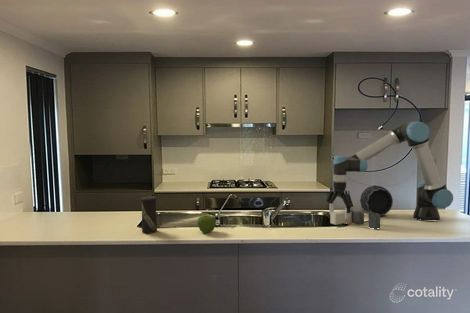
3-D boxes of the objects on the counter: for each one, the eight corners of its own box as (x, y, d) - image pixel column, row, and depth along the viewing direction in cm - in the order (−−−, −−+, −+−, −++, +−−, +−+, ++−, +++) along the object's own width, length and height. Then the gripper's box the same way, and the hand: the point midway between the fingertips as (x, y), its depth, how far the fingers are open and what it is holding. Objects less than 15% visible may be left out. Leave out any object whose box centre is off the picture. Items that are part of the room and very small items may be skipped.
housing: (357, 222, 225) (358, 208, 224) (380, 229, 210) (380, 214, 209) (353, 223, 223) (353, 209, 222) (375, 230, 208) (375, 214, 208)
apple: (211, 236, 198) (211, 218, 197) (194, 234, 201) (193, 216, 200) (219, 230, 208) (219, 213, 207) (202, 229, 211) (202, 212, 211)
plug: (351, 219, 231) (351, 208, 231) (358, 221, 226) (358, 210, 226) (329, 222, 223) (329, 211, 222) (336, 225, 218) (336, 213, 217)
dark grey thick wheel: (357, 214, 247) (358, 184, 245) (385, 213, 249) (386, 184, 248) (365, 218, 236) (365, 187, 235) (394, 217, 238) (395, 186, 237)
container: (138, 232, 204) (137, 197, 203) (147, 228, 212) (146, 194, 211) (151, 234, 201) (150, 198, 200) (160, 230, 210) (159, 195, 208)
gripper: (321, 179, 230) (320, 212, 232) (350, 184, 208) (349, 221, 210) (330, 178, 234) (329, 211, 235) (360, 183, 211) (359, 219, 213)
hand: (339, 215), depth 222 cm, fingers open, 13 cm apart
